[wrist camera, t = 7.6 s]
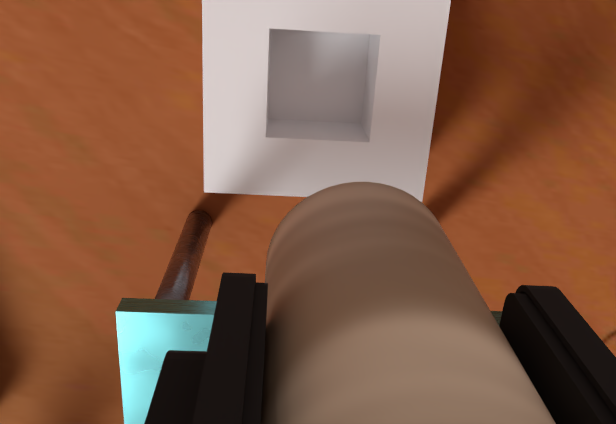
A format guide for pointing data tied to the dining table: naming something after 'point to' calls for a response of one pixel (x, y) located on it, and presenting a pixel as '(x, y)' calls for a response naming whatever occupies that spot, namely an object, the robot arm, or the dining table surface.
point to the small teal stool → (166, 321)
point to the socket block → (319, 93)
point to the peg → (382, 321)
